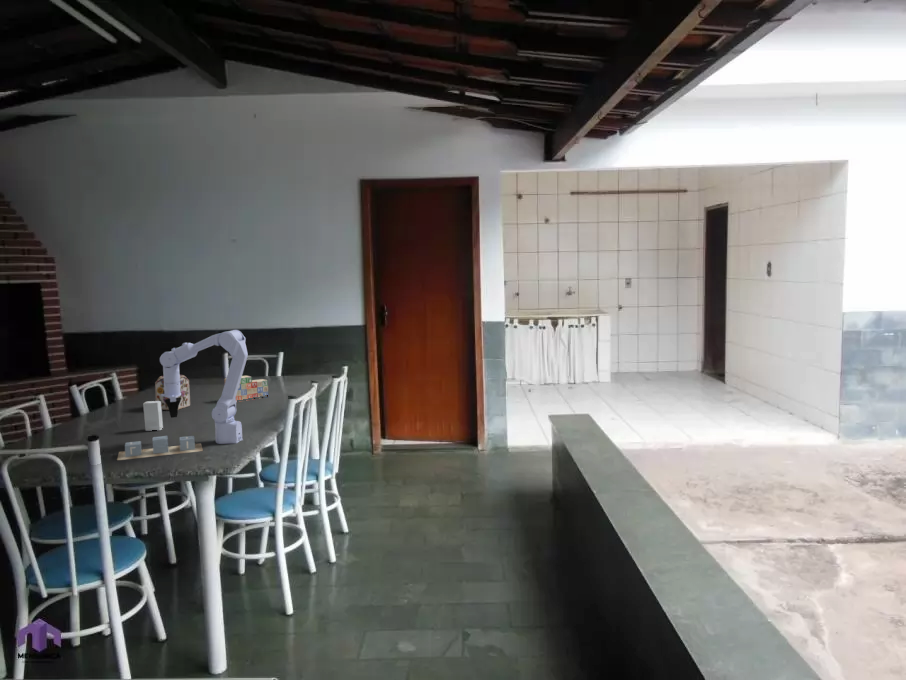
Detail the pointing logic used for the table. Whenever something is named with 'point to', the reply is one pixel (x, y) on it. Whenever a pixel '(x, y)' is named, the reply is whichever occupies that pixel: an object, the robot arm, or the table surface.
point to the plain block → (160, 444)
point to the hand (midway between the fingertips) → (173, 417)
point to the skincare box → (153, 415)
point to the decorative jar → (184, 397)
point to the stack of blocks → (251, 388)
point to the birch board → (150, 453)
